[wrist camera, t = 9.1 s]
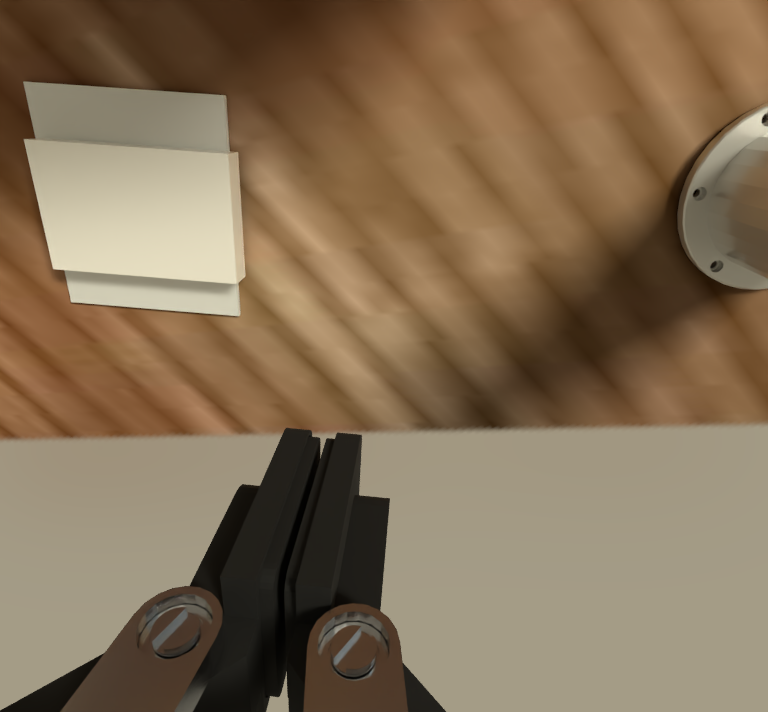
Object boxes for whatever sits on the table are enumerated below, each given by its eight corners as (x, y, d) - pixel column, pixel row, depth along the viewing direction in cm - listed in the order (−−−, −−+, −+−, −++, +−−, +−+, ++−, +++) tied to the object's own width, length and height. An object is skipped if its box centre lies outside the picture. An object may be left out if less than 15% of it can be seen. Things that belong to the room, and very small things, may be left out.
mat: (226, 95, 34) (224, 95, 34) (240, 314, 41) (238, 316, 41) (27, 81, 35) (23, 81, 35) (74, 300, 42) (71, 302, 41)
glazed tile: (228, 153, 33) (23, 139, 34) (236, 284, 37) (53, 269, 38) (239, 151, 36) (46, 137, 36) (246, 275, 39) (72, 261, 40)
